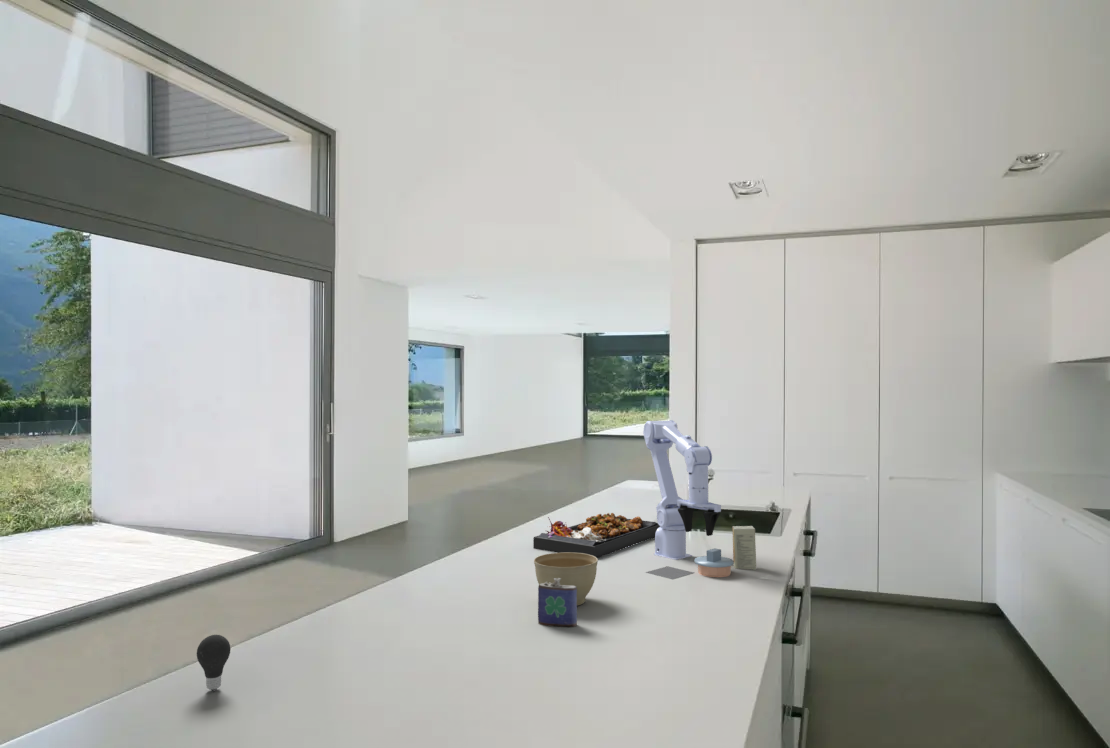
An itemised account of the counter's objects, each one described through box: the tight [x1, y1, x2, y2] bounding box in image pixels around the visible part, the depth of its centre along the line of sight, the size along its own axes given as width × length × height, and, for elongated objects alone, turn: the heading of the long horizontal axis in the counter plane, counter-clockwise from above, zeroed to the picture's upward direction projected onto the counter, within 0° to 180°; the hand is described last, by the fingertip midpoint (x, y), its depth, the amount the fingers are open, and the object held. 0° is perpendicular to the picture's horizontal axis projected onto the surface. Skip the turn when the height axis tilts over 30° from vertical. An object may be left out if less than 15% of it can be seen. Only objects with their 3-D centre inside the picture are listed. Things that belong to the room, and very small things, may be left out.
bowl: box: [697, 564, 732, 578], centre depth 210 cm, size 9×9×3 cm
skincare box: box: [732, 525, 757, 571], centre depth 217 cm, size 6×4×12 cm
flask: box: [537, 578, 578, 628], centre depth 168 cm, size 9×3×11 cm, turn 74°
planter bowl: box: [533, 552, 599, 606], centre depth 185 cm, size 16×16×11 cm
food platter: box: [532, 512, 660, 559], centre depth 255 cm, size 45×25×10 cm, turn 143°
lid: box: [694, 548, 734, 567], centre depth 210 cm, size 11×11×4 cm
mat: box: [644, 566, 695, 580], centre depth 211 cm, size 10×10×1 cm
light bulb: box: [196, 634, 231, 692], centre depth 133 cm, size 6×6×10 cm
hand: (698, 533), depth 217 cm, fingers open, 7 cm apart
